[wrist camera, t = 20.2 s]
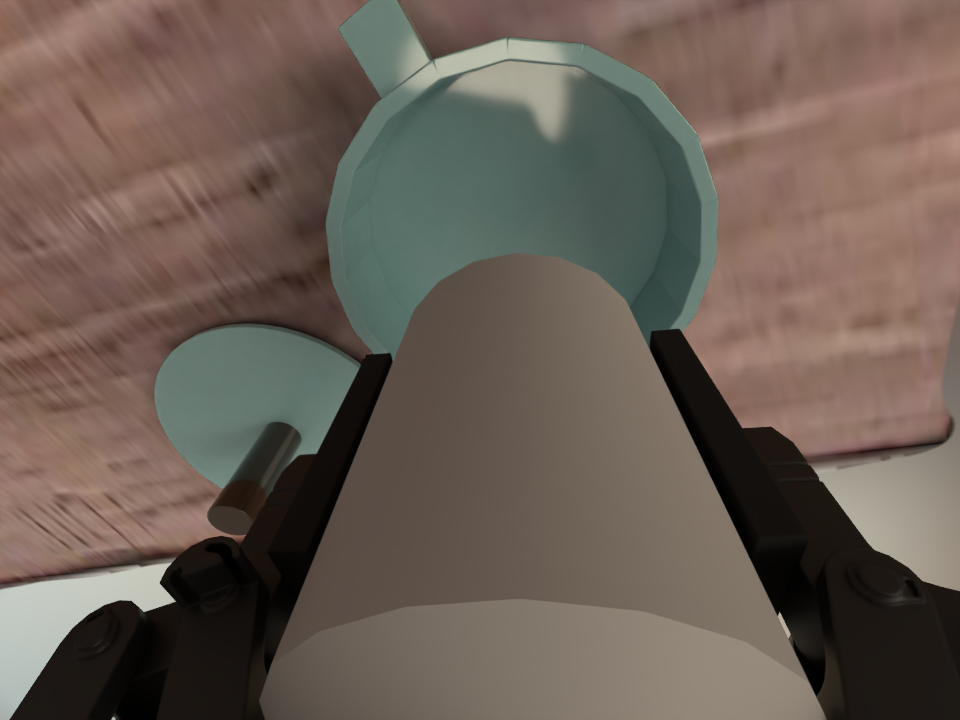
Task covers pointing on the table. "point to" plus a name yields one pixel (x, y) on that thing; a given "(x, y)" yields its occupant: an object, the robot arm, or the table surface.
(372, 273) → the pan
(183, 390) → the pan lid
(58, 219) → the table surface
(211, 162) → the table surface
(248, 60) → the table surface
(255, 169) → the table surface
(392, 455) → the can
